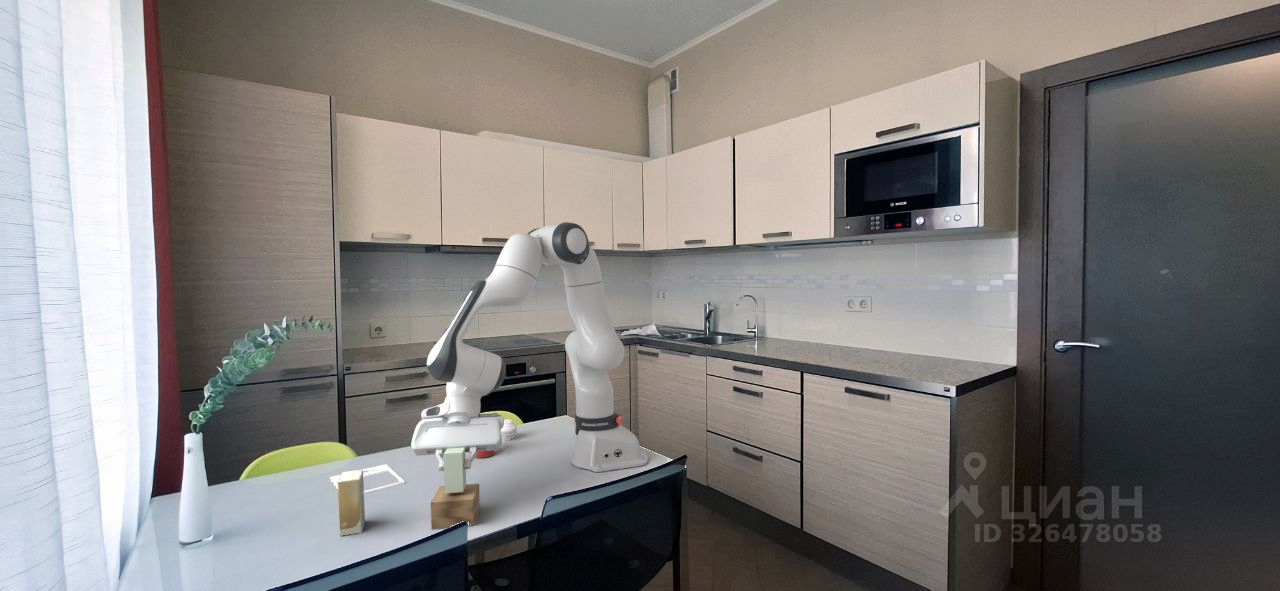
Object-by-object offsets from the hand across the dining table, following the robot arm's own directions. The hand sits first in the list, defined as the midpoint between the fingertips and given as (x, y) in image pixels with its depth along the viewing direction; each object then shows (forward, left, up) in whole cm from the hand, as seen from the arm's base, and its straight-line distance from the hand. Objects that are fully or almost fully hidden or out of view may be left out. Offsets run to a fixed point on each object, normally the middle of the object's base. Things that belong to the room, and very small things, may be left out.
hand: (454, 469), depth 121 cm
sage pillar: (0, -1, -5) cm, 5 cm away
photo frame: (+29, -29, -12) cm, 42 cm away
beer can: (0, -44, -12) cm, 45 cm away
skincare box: (+22, 0, -12) cm, 25 cm away
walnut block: (0, -1, -12) cm, 12 cm away
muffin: (-6, -59, -12) cm, 60 cm away
